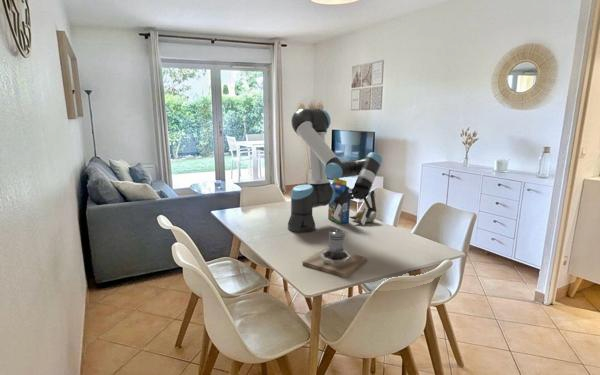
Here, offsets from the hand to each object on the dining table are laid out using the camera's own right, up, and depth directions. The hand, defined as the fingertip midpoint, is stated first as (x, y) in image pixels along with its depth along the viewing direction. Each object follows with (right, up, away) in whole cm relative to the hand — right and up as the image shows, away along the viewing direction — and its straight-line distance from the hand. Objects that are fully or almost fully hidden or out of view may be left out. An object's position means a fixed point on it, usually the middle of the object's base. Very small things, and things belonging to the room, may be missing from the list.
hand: (348, 220), depth 156 cm
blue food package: (+1, -5, +53) cm, 54 cm away
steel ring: (-6, -16, -6) cm, 18 cm away
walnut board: (-6, -17, -6) cm, 19 cm away
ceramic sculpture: (+16, -6, +51) cm, 54 cm away
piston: (-6, -16, -6) cm, 18 cm away
